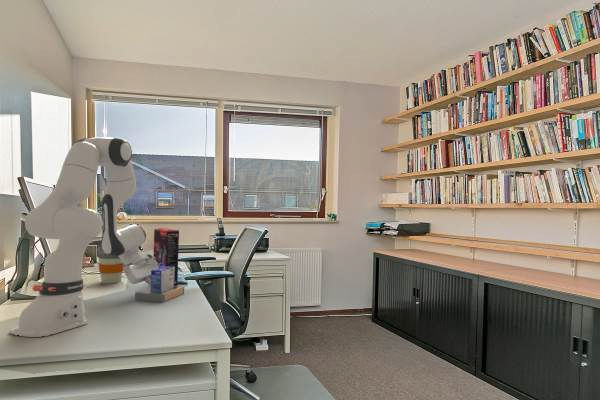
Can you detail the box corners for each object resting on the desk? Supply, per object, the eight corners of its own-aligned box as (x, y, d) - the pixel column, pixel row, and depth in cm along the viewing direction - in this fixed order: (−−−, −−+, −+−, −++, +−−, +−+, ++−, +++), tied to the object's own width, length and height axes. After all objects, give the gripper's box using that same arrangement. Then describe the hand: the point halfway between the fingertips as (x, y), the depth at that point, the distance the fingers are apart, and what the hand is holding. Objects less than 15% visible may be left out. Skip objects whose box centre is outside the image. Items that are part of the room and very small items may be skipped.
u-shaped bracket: (162, 302, 167) (163, 295, 167) (135, 299, 170) (135, 292, 170) (184, 293, 184) (184, 286, 184) (158, 291, 187) (158, 284, 187)
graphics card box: (151, 282, 205) (152, 228, 205) (165, 281, 210) (166, 227, 210) (165, 288, 192) (166, 230, 192) (179, 286, 197) (180, 230, 197)
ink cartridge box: (162, 293, 182) (163, 260, 182) (174, 294, 181) (175, 261, 181) (149, 298, 173) (150, 264, 173) (161, 299, 171) (162, 265, 171)
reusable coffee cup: (105, 278, 212) (106, 249, 212) (129, 279, 212) (129, 250, 212) (92, 283, 200) (92, 253, 200) (117, 284, 199) (118, 253, 199)
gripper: (125, 260, 169) (145, 286, 167) (154, 254, 189) (172, 276, 187) (115, 270, 170) (136, 296, 168) (145, 263, 190) (163, 285, 188)
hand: (155, 285), depth 178 cm, fingers closed, pressing on ink cartridge box
